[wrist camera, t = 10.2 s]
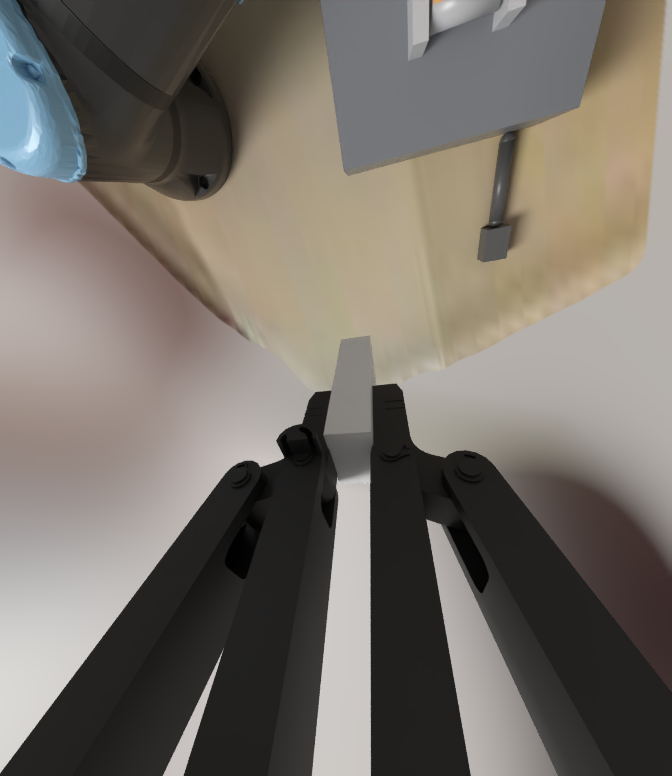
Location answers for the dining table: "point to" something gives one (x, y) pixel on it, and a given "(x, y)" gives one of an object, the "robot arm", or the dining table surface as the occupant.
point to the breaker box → (454, 82)
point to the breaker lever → (457, 12)
